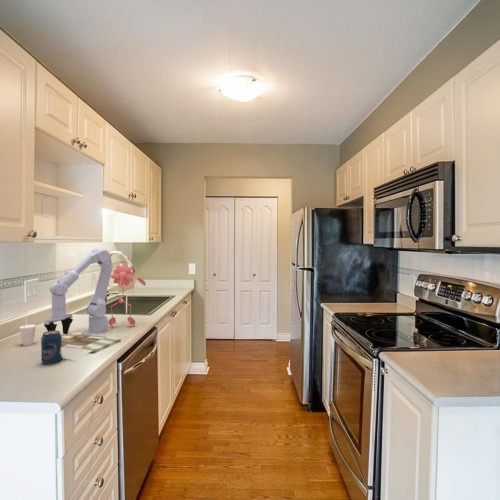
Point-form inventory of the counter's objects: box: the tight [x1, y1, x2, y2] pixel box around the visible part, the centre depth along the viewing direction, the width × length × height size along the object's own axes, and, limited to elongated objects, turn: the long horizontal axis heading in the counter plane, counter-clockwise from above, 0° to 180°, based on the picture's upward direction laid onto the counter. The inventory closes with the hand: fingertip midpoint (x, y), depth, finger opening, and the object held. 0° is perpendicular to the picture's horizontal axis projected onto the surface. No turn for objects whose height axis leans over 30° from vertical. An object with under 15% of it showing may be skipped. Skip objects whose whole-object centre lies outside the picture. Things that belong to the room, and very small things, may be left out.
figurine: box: [108, 264, 146, 330], centre depth 192 cm, size 15×26×35 cm, turn 98°
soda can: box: [40, 330, 63, 366], centre depth 134 cm, size 7×7×12 cm
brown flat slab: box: [61, 334, 122, 355], centre depth 157 cm, size 18×24×2 cm
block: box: [61, 331, 85, 343], centre depth 159 cm, size 9×5×2 cm, turn 164°
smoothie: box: [19, 316, 37, 347], centre depth 152 cm, size 6×6×14 cm
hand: (59, 336), depth 161 cm, fingers open, 7 cm apart
